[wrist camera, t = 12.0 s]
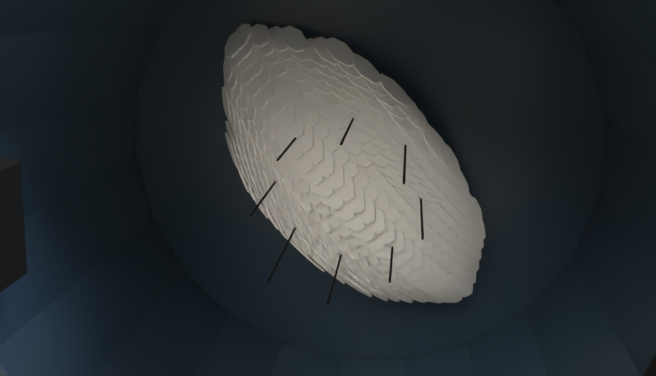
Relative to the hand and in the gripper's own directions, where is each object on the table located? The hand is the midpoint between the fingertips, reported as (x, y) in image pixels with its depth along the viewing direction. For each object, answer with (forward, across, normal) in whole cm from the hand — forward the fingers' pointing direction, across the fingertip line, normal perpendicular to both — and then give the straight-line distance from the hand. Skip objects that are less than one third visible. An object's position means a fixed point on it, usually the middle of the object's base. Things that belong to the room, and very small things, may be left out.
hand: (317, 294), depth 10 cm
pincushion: (+8, 0, 0) cm, 8 cm away
